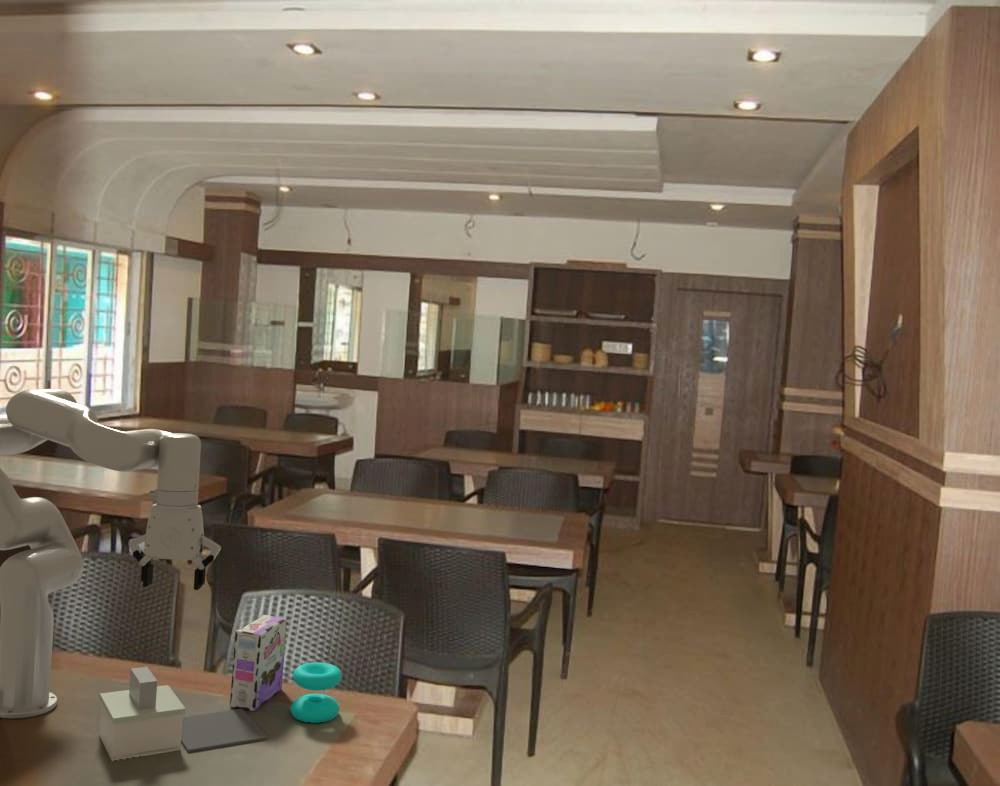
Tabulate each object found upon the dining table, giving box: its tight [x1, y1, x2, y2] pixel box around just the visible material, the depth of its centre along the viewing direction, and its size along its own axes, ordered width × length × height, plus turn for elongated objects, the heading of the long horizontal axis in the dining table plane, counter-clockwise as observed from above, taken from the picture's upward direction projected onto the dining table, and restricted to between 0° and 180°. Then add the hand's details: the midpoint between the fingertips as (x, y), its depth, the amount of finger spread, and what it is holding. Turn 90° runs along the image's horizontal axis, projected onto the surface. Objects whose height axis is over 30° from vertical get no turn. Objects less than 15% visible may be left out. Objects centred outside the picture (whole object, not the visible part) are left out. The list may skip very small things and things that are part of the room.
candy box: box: [229, 614, 288, 712], centre depth 201 cm, size 14×6×16 cm, turn 168°
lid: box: [99, 666, 186, 724], centre depth 175 cm, size 13×13×7 cm
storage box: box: [98, 701, 184, 762], centre depth 176 cm, size 12×12×7 cm
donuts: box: [290, 661, 343, 724], centre depth 195 cm, size 10×10×10 cm
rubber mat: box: [181, 708, 268, 753], centre depth 184 cm, size 15×15×1 cm
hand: (172, 586), depth 179 cm, fingers open, 9 cm apart
